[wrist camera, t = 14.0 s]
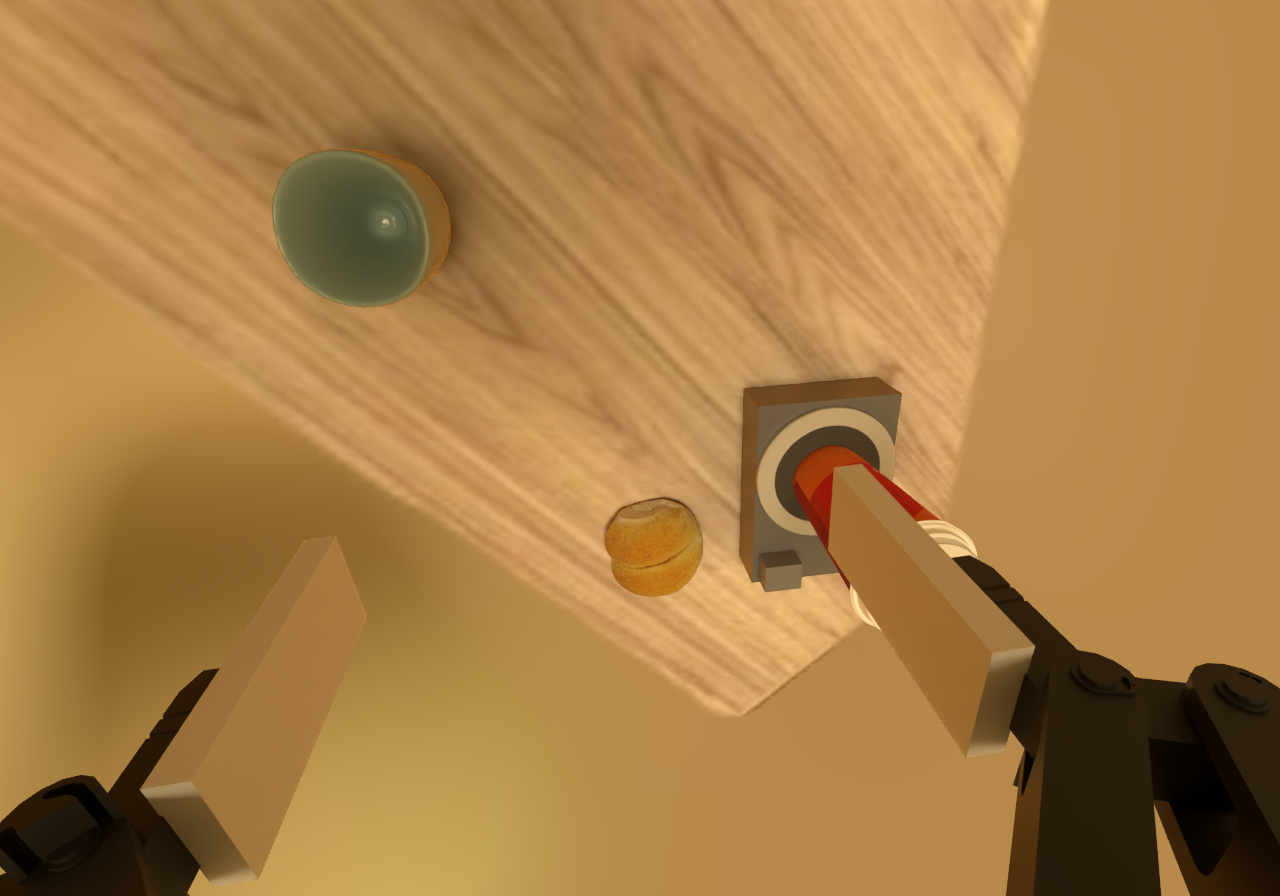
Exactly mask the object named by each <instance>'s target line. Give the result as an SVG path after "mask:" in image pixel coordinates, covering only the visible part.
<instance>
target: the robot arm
mask: <svg viewBox="0 0 1280 896" xmlns="http://www.w3.org/2000/svg"><path fill="white" fill-rule="evenodd" d="M828 551H829V552H830V554H831V555H832V557H833V558H834V560H835V561H836V563H837V564H838V566H839V567H840V569H841V570H842V572H843V573H844V575H845V576H846V578H847V579H848V581H849V582H850V584H851V585H852V587H853V588H854V590H855V591H856V593H857V594H858V596H859V598H860V599H861V601H862V602H863V604H864V605H865V607H866V608H867V610H868V611H869V613H870V614H871V616H872V617H873V619H874V620H875V622H876V623H877V625H878V626H879V628H880V629H881V631H882V632H883V634H884V635H885V637H886V638H887V640H888V641H889V643H890V644H891V646H892V647H893V648H894V650H895V652H896V653H897V655H898V656H899V658H900V659H901V661H902V662H903V664H904V665H905V667H906V668H907V670H908V671H909V673H910V674H911V676H912V677H913V679H914V680H915V682H916V683H917V685H918V686H919V688H920V689H921V691H922V692H923V694H924V695H925V697H926V698H927V700H928V701H929V703H930V704H931V706H932V708H933V709H934V711H935V712H936V714H937V715H938V717H939V718H940V720H941V721H942V723H943V724H944V726H945V727H946V729H947V730H948V732H949V733H950V735H951V736H952V738H953V739H954V741H955V742H956V744H957V745H958V747H959V748H960V750H961V751H962V753H963V754H964V756H965V757H966V758H969V757H975V756H981V755H987V754H993V753H998V752H1004V750H1005V746H1006V743H1007V740H1008V737H1009V733H1010V730H1011V731H1012V733H1013V734H1014V735H1015V736H1016V738H1017V739H1018V740H1019V742H1020V743H1021V744H1022V746H1023V747H1024V748H1025V749H1024V752H1023V755H1022V758H1021V762H1020V765H1019V768H1018V771H1017V774H1016V777H1015V780H1014V784H1013V785H1014V786H1017V787H1018V793H1017V802H1016V811H1015V820H1014V830H1013V838H1012V846H1011V856H1010V864H1009V874H1008V883H1007V891H1006V896H1161V888H1160V876H1159V864H1158V850H1157V839H1156V827H1155V814H1154V804H1155V807H1156V810H1157V812H1158V815H1159V817H1160V820H1161V822H1162V825H1163V827H1164V830H1165V833H1166V835H1167V838H1168V840H1169V843H1170V845H1171V848H1172V850H1173V853H1174V855H1175V858H1176V860H1177V863H1178V865H1179V868H1180V871H1181V873H1182V876H1183V878H1184V881H1185V883H1186V886H1187V888H1188V891H1189V893H1190V896H1280V688H1278V687H1277V686H1275V685H1274V684H1272V683H1271V682H1269V681H1268V680H1266V679H1265V678H1263V677H1260V676H1258V675H1255V674H1253V673H1251V672H1249V671H1247V670H1244V669H1241V668H1237V667H1233V666H1230V665H1226V664H1212V663H1206V664H1203V665H1200V666H1197V667H1195V668H1194V670H1193V671H1192V673H1191V674H1190V676H1189V678H1188V681H1187V683H1181V682H1171V681H1162V680H1152V679H1143V678H1137V677H1134V676H1133V675H1132V674H1131V673H1130V671H1129V670H1127V669H1125V668H1124V667H1122V666H1121V665H1119V664H1118V663H1116V662H1115V661H1113V660H1111V659H1108V658H1106V657H1103V656H1101V655H1098V654H1095V653H1090V652H1085V651H1079V650H1077V649H1076V648H1075V647H1074V646H1073V645H1072V644H1071V643H1070V642H1069V641H1068V640H1067V639H1066V638H1064V636H1063V635H1061V634H1060V633H1059V632H1058V631H1057V630H1056V629H1055V628H1054V627H1053V626H1052V625H1051V624H1050V623H1049V622H1048V621H1047V620H1046V619H1045V618H1044V617H1043V616H1042V615H1041V614H1040V613H1039V612H1038V611H1036V609H1035V608H1034V607H1032V605H1030V603H1029V602H1028V601H1024V599H1023V597H1022V596H1021V595H1020V594H1019V593H1018V592H1017V591H1016V590H1015V589H1014V588H1011V587H1010V584H1009V583H1008V582H1007V581H1006V580H1005V579H1004V578H1003V577H1002V576H1001V575H1000V574H999V573H998V572H997V571H995V569H994V568H992V567H990V566H988V565H987V564H985V563H983V562H981V561H980V560H978V559H976V558H974V557H972V556H970V555H967V556H960V557H953V558H951V557H950V556H949V555H948V554H947V553H946V552H945V551H944V550H943V549H942V548H941V547H940V546H939V545H938V544H937V543H936V542H935V540H934V539H933V538H932V537H931V536H930V535H929V534H928V533H927V532H926V531H925V530H924V529H923V528H922V527H921V526H920V525H919V524H918V523H917V522H916V521H915V519H914V518H913V517H912V516H911V515H910V514H909V513H908V512H907V511H906V510H905V509H904V508H903V507H902V506H901V505H900V504H899V503H898V502H897V501H896V500H895V498H894V497H893V496H892V495H891V494H890V493H889V492H888V491H887V490H886V489H885V488H884V487H883V486H882V485H881V484H880V483H879V482H878V481H877V480H876V479H875V477H874V476H873V475H872V474H871V473H870V472H869V471H868V470H867V469H866V468H865V467H864V466H863V465H862V464H856V465H849V466H841V467H834V474H833V488H832V502H831V516H830V530H829V544H828ZM366 620H367V615H366V612H365V609H364V607H363V604H362V602H361V599H360V597H359V594H358V592H357V589H356V587H355V584H354V581H353V579H352V576H351V574H350V571H349V569H348V566H347V564H346V561H345V558H344V556H343V553H342V551H341V548H340V546H339V543H338V541H337V538H336V536H330V537H323V538H316V539H308V540H304V542H303V543H302V545H301V546H300V548H299V549H298V551H297V552H296V554H295V555H294V557H293V559H292V560H291V562H290V563H289V565H288V566H287V568H286V569H285V571H284V572H283V574H282V575H281V577H280V578H279V580H278V581H277V583H276V584H275V586H274V587H273V589H272V590H271V592H270V593H269V595H268V596H267V598H266V599H265V601H264V602H263V604H262V605H261V607H260V608H259V610H258V612H257V613H256V615H255V616H254V618H253V619H252V621H251V622H250V624H249V625H248V627H247V628H246V630H245V631H244V633H243V634H242V636H241V637H240V639H239V640H238V642H237V643H236V645H235V646H234V648H233V649H232V651H231V652H230V654H229V655H228V657H227V658H226V660H225V662H224V663H223V664H222V666H221V667H220V668H218V669H211V670H204V671H203V672H201V673H200V674H199V675H198V676H197V677H196V678H195V679H194V680H193V681H191V682H190V683H189V684H188V685H187V686H186V687H185V688H183V689H182V690H181V691H180V692H179V693H178V695H177V696H176V697H175V699H174V700H173V702H172V703H171V705H170V706H169V707H168V709H167V710H166V712H165V713H164V714H163V719H161V720H159V721H158V723H157V724H156V726H155V727H154V729H153V730H152V731H151V733H150V738H149V739H146V740H145V741H144V743H143V744H142V746H141V747H140V748H139V750H138V751H137V753H136V754H135V756H134V757H133V758H132V760H131V761H130V763H129V764H128V765H127V767H126V768H125V770H124V771H123V772H122V774H121V775H120V777H119V778H118V779H117V781H116V782H115V784H114V785H113V787H112V788H111V790H110V791H109V792H108V793H107V792H106V791H105V789H104V788H103V787H102V786H101V784H100V783H99V782H98V781H97V780H96V778H95V777H93V776H85V775H79V776H75V777H71V778H66V779H62V780H60V781H58V782H56V783H54V784H52V785H50V786H48V787H46V788H43V789H41V790H40V791H38V792H37V793H35V794H34V795H32V796H31V797H29V798H28V799H26V800H25V801H23V802H22V803H21V804H19V805H18V806H17V807H16V808H15V809H14V810H13V811H12V812H11V813H10V814H9V815H8V816H6V817H5V818H4V819H3V820H2V821H1V823H0V867H1V868H2V869H3V870H4V871H5V872H6V873H5V874H2V875H0V896H189V894H188V893H187V892H188V890H189V888H190V886H191V884H192V882H193V880H194V878H195V876H196V874H197V872H198V870H199V868H200V870H201V871H202V872H203V874H204V875H205V876H206V878H207V879H208V880H209V882H210V883H211V884H212V886H213V887H217V886H223V885H229V884H235V883H240V882H246V881H252V880H258V879H259V877H260V874H261V872H262V870H263V867H264V865H265V862H266V860H267V858H268V855H269V853H270V850H271V848H272V845H273V843H274V841H275V838H276V836H277V834H278V831H279V829H280V826H281V824H282V822H283V819H284V817H285V814H286V812H287V810H288V807H289V805H290V802H291V800H292V798H293V795H294V793H295V790H296V788H297V786H298V783H299V781H300V778H301V776H302V774H303V771H304V769H305V766H306V764H307V762H308V759H309V757H310V754H311V752H312V750H313V747H314V745H315V742H316V740H317V738H318V735H319V733H320V730H321V728H322V726H323V723H324V721H325V718H326V716H327V714H328V711H329V709H330V706H331V704H332V702H333V699H334V697H335V694H336V692H337V690H338V687H339V685H340V682H341V680H342V677H343V675H344V673H345V670H346V668H347V666H348V663H349V661H350V658H351V656H352V653H353V651H354V649H355V646H356V644H357V642H358V639H359V637H360V635H361V632H362V630H363V627H364V625H365V623H366Z"/></svg>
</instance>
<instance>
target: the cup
mask: <svg viewBox="0 0 1280 896" xmlns="http://www.w3.org/2000/svg"><path fill="white" fill-rule="evenodd" d="M272 217H273V227H274V232H275V235H276V239H277V243H278V246H279V248H280V250H281V253H282V255H283V257H284V259H285V261H286V263H287V264H288V266H289V267H290V269H291V270H292V272H293V273H294V275H295V276H296V277H297V278H298V279H299V280H300V281H301V282H302V283H303V284H304V285H305V286H306V287H308V288H309V289H311V290H312V291H314V292H315V293H316V294H318V295H320V296H322V297H324V298H326V299H328V300H331V301H333V302H336V303H340V304H344V305H347V306H355V307H381V306H385V305H390V304H394V303H396V302H398V301H401V300H403V299H405V298H407V297H409V296H411V295H412V294H413V293H415V292H416V291H417V290H418V289H420V288H421V287H422V286H423V285H425V284H426V283H427V282H428V281H429V280H431V279H432V278H433V277H434V275H435V274H436V273H437V271H438V270H439V269H440V267H441V266H442V265H443V263H444V260H445V258H446V256H447V253H448V250H449V245H450V240H451V220H450V214H449V210H448V207H447V204H446V200H445V198H444V196H443V194H442V192H441V191H440V189H439V187H438V186H437V185H436V183H435V182H434V181H433V180H432V178H431V177H430V176H428V175H427V174H426V173H425V172H424V171H422V170H421V169H420V168H419V167H417V166H415V165H413V164H411V163H410V162H408V161H406V160H404V159H401V158H398V157H395V156H392V155H389V154H385V153H380V152H373V151H367V150H359V149H327V150H322V151H318V152H313V153H310V154H308V155H306V156H304V157H302V158H299V159H297V160H296V161H295V162H294V163H293V164H291V165H290V166H289V167H288V168H287V169H286V170H285V171H284V173H283V174H282V176H281V178H280V179H279V181H278V183H277V186H276V189H275V193H274V196H273V207H272Z"/></svg>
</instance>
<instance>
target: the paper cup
mask: <svg viewBox="0 0 1280 896" xmlns="http://www.w3.org/2000/svg"><path fill="white" fill-rule="evenodd" d="M856 464H862V465H863V466H864V467H865V468H866V469H867V470H868V471H869V472H870V473H871V474H872V475H873V476H874V477H875V479H876V480H877V481H878V482H879V483H880V484H881V485H882V486H883V487H884V488H885V489H886V490H887V491H888V492H889V493H890V494H891V495H892V496H893V497H894V498H895V500H896V501H897V502H898V503H899V504H900V505H901V506H902V507H903V508H904V509H905V510H906V511H907V512H908V513H909V514H910V515H911V516H912V517H913V518H914V519H915V521H916V522H917V523H918V524H919V525H920V526H921V527H922V528H923V529H924V530H925V531H926V532H927V533H928V534H929V535H930V536H931V537H932V538H933V539H934V540H935V542H936V543H937V544H938V545H939V546H940V547H941V548H942V549H943V550H944V551H945V552H946V553H947V554H948V555H949V556H950V557H951V558H953V557H960V556H967V555H970V556H972V557H974V558H976V559H978V557H977V552H976V549H975V546H974V544H973V542H972V541H971V539H970V538H969V537H968V536H967V535H966V534H965V533H964V532H963V531H961V530H960V529H958V528H956V527H954V526H952V525H951V524H949V523H948V522H946V521H941V520H939V519H938V518H937V517H935V516H934V515H933V514H932V513H930V512H929V511H928V510H927V509H925V508H924V507H923V506H922V505H921V504H919V503H918V502H917V501H916V500H914V499H913V498H912V497H911V496H909V495H908V494H907V493H906V492H904V491H903V490H902V489H901V488H899V487H898V486H897V485H896V484H894V483H893V482H892V481H891V480H889V479H888V478H887V477H886V476H884V475H883V474H882V473H881V472H879V471H878V470H877V469H875V468H874V467H873V466H872V465H870V464H869V463H868V462H867V461H865V460H864V459H863V458H861V457H860V456H859V455H857V454H856V453H854V452H853V451H851V450H850V449H848V448H845V447H842V446H837V445H830V446H824V447H821V448H818V449H816V450H814V451H812V452H811V453H809V454H808V455H807V456H806V457H804V458H803V460H802V461H801V462H800V463H799V465H798V466H797V468H796V470H795V473H794V476H793V489H794V493H795V495H796V497H797V499H798V501H799V503H800V505H801V507H802V509H803V511H804V512H805V514H806V516H807V518H808V519H809V521H810V523H811V525H812V526H813V528H814V530H815V532H816V533H817V535H818V537H819V539H820V540H821V542H822V544H823V546H824V547H825V549H826V551H827V553H828V554H829V556H830V558H831V560H832V561H833V563H834V565H835V566H836V568H837V570H838V572H839V573H840V575H841V577H842V579H843V580H844V582H845V584H846V585H847V587H848V589H849V591H850V599H851V603H852V605H853V608H854V610H855V611H856V613H857V614H858V615H859V616H860V617H861V618H862V619H863V620H864V621H865V622H867V623H868V624H870V625H872V626H874V627H876V628H878V629H880V628H879V626H878V625H877V623H876V622H875V620H874V619H873V617H872V616H871V614H870V613H869V611H868V610H867V608H866V607H865V605H864V604H863V602H862V601H861V599H860V598H859V596H858V594H857V593H856V591H855V590H854V588H853V587H852V585H851V584H850V582H849V581H848V579H847V578H846V576H845V575H844V573H843V572H842V570H841V569H840V567H839V566H838V564H837V563H836V561H835V560H834V558H833V557H832V555H831V554H830V552H829V551H828V544H829V530H830V516H831V502H832V488H833V474H834V467H841V466H849V465H856ZM978 560H979V559H978ZM880 630H881V629H880Z"/></svg>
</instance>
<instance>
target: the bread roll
mask: <svg viewBox="0 0 1280 896" xmlns="http://www.w3.org/2000/svg"><path fill="white" fill-rule="evenodd" d="M605 546H606V550H607V552H608V554H609V555H610V556H611V557H612V571H613V574H614V577H615V579H616V580H617V582H618V583H619V584H620V585H621V586H623V587H624V588H625V589H627V590H628V591H630V592H632V593H634V594H637V595H642V596H650V597H657V596H664V595H668V594H672V593H674V592H676V591H678V590H679V589H681V588H682V587H683V586H684V585H686V584H687V583H688V582H689V580H690V579H691V578H692V576H693V575H694V573H695V571H696V570H697V567H698V565H699V563H700V560H701V557H702V553H703V541H702V536H701V533H700V530H699V527H698V525H697V522H696V519H695V518H694V516H693V515H692V514H691V512H690V511H689V510H688V509H686V508H685V507H684V506H683V505H681V504H679V503H677V502H674V501H670V500H667V499H658V500H652V501H643V502H640V503H637V504H634V505H631V506H628V507H626V508H624V509H622V510H621V511H620V512H619V513H618V514H617V516H616V517H615V519H614V521H613V522H612V523H611V525H610V526H609V528H608V530H607V533H606V538H605Z"/></svg>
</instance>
